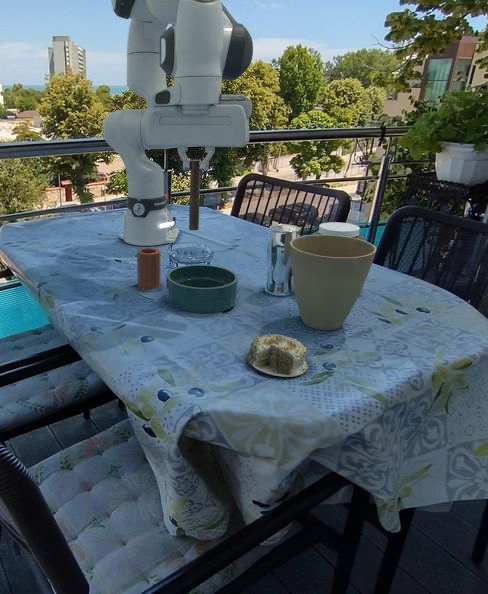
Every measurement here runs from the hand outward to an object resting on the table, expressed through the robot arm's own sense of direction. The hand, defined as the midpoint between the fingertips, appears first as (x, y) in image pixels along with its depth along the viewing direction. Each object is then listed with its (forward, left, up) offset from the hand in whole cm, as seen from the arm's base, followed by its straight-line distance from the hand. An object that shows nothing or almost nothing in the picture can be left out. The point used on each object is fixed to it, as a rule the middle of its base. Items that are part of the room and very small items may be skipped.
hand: (195, 170), depth 93 cm
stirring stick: (0, 0, -12) cm, 12 cm away
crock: (-3, -12, -28) cm, 31 cm away
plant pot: (+3, +27, -28) cm, 39 cm away
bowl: (+1, +2, -28) cm, 28 cm away
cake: (+22, +21, -28) cm, 41 cm away
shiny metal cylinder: (-11, +17, -28) cm, 35 cm away
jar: (-16, +28, -28) cm, 43 cm away
